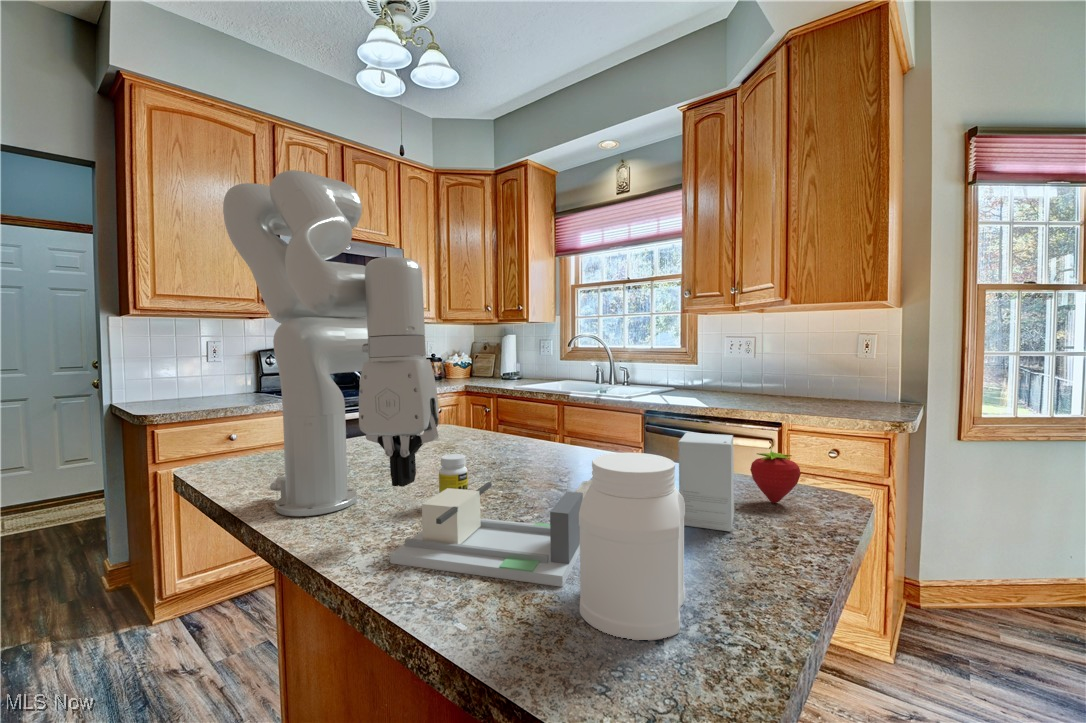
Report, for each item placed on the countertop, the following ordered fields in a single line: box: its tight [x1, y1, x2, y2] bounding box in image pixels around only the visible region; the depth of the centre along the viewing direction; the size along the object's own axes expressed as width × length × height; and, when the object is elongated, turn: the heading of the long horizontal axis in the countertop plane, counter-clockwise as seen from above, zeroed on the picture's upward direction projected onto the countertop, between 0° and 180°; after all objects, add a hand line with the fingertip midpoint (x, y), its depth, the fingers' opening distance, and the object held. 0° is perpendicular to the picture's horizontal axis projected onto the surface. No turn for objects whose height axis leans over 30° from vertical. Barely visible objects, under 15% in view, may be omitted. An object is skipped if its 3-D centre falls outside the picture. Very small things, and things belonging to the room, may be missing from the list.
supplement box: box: [677, 432, 735, 532], centre depth 73 cm, size 7×7×13 cm
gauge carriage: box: [421, 481, 493, 544], centre depth 66 cm, size 5×15×5 cm, turn 163°
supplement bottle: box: [438, 453, 469, 494], centre depth 81 cm, size 5×5×8 cm
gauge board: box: [389, 491, 583, 588], centre depth 64 cm, size 22×14×7 cm, turn 73°
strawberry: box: [750, 443, 802, 504], centre depth 81 cm, size 6×8×10 cm
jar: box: [579, 452, 686, 641], centre depth 50 cm, size 12×10×15 cm
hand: (403, 483), depth 67 cm, fingers closed
